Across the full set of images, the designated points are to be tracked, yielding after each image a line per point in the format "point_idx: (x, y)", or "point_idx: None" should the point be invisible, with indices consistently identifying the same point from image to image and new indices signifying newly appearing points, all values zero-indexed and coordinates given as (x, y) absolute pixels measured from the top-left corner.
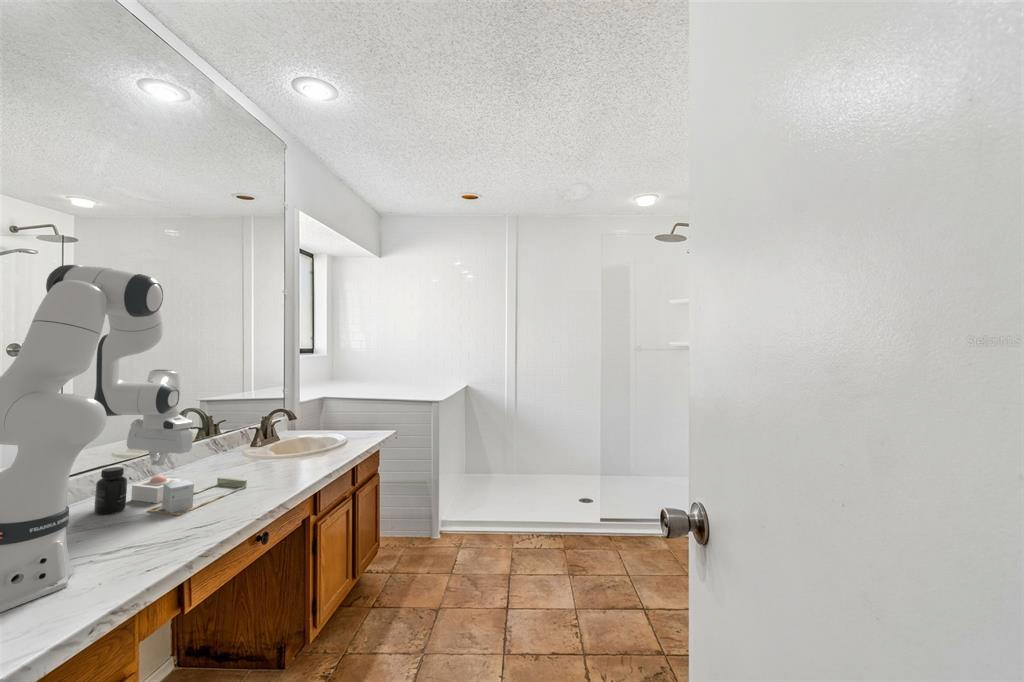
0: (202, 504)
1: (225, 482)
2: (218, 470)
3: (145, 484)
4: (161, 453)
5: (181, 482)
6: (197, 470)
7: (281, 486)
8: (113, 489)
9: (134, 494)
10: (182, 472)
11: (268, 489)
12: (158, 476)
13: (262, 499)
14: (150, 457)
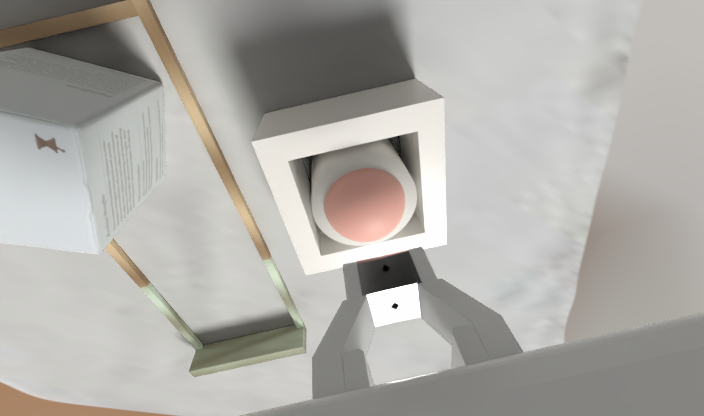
0: None
1: (269, 341)
2: None
3: (417, 161)
4: (331, 377)
5: (22, 207)
6: None
7: (129, 393)
8: None
9: (405, 88)
10: (517, 325)
11: (124, 370)
12: (358, 217)
13: (4, 327)
14: (458, 293)
